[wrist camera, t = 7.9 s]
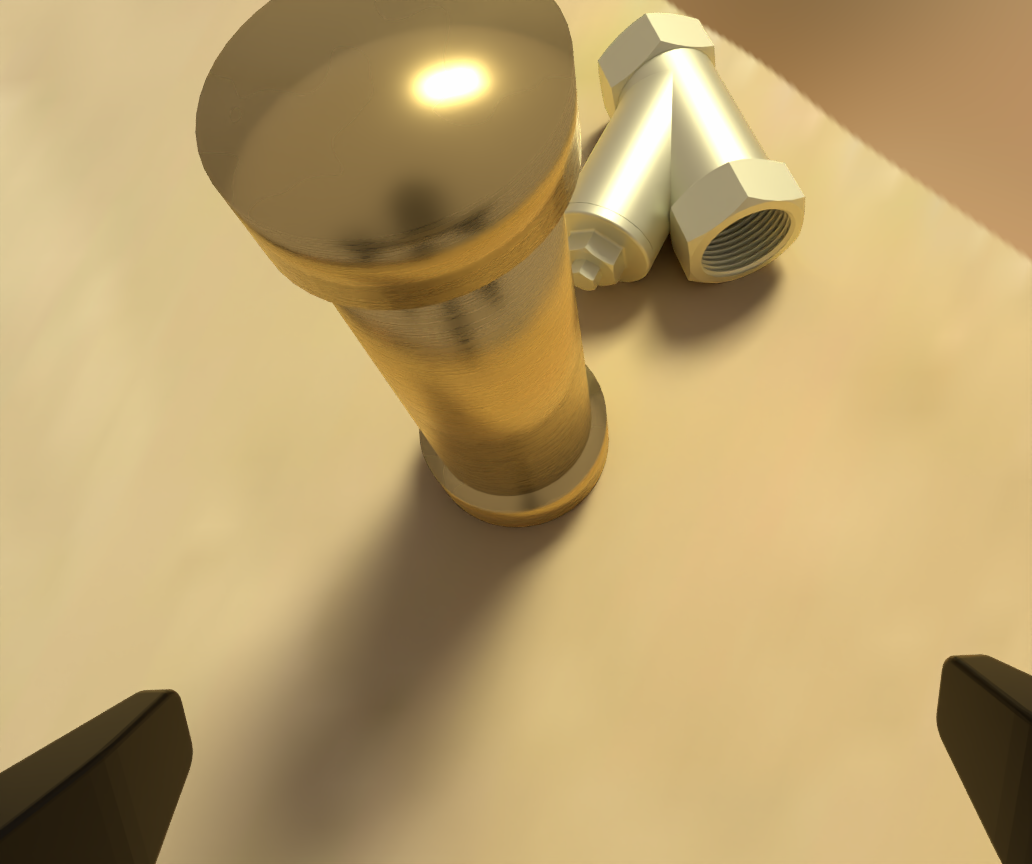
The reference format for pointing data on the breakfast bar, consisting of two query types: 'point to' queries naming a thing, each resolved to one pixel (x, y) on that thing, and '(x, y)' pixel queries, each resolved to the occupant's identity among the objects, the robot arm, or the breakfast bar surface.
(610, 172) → the pipe fitting
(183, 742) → the robot arm
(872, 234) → the breakfast bar surface
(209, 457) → the breakfast bar surface
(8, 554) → the breakfast bar surface
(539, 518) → the knob
